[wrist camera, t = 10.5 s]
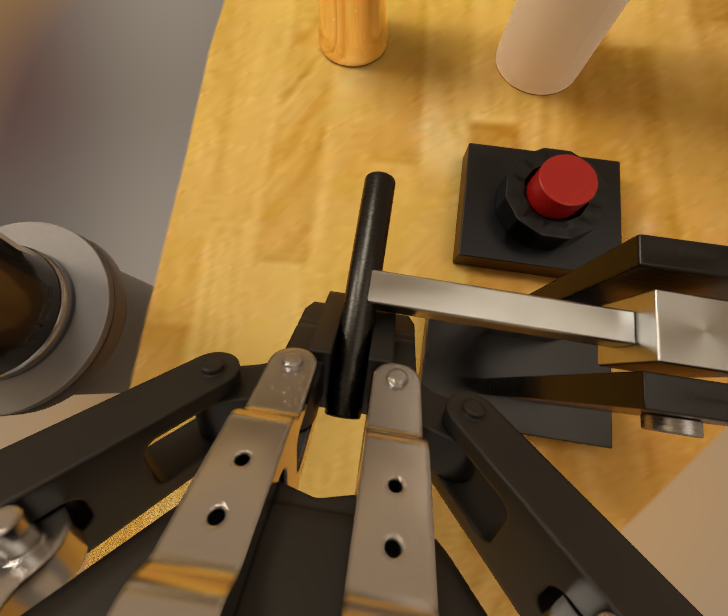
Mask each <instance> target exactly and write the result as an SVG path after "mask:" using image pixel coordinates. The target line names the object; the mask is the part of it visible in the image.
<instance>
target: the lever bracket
mask: <svg viewBox="0 0 728 616" xmlns="http://www.w3.org/2000/svg"><path fill="white" fill-rule="evenodd" d="M654 289H659V290H665V291H672V292H678V293H684V294H690V295H697V296H703V297H709V298H715V299H722V300H728V246H723V245H716V244H709V243H701V242H694V241H686V240H679V239H671V238H664V237H656V236H649V235H637V236H635V237H633V238H631V239H629V240H628V241H626V242H624V243H622V244H620V245H619V246H617V247H615V248H613V249H611V250H609V251H608V252H606V253H604V254H602V255H600V256H598V257H597V258H595V259H593V260H591V261H589V262H587V263H586V264H584V265H582V266H580V267H578V268H577V269H575V270H573V271H571V272H569V273H567V274H566V275H564V276H562V277H560V278H558V279H556V280H555V281H553V282H551V283H549V284H547V285H545V286H544V287H542V288H540V289H538V290H536V291H535V292H533V293H531V294H529V295H535V296H541V297H547V298H554V299H560V300H566V301H572V302H579V303H585V304H591V305H597V306H601V305H604V304H607V303H611V302H614V301H617V300H621V299H624V298H627V297H631V296H634V295H637V294H640V293H644V292H647V291H650V290H654ZM419 378H420V381H421V383H422V384H423V385H424V386H425V387H426V388H428V389H429V390H431V391H432V392H434V393H436V394H439V395H441V396H443V397H446V398H448V399H449V397H450V396H451V395H453V394H455V393H457V392H470V393H474V394H477V395H479V396H481V397H483V398H485V399H486V400H488V401H489V402H490V403H491V404H492V405H493V406H494V407H495V408H496V409H497V410H498V411H499V412H500V413H501V414H502V415H503V416H504V417H505V418H506V419H507V420H508V421H509V422H510V423H511V424H512V425H513V426H514V427H515V428H516V429H517V430H518V431H519V432H520V433H521V434H525V435H531V436H537V437H544V438H550V439H556V440H562V441H568V442H574V443H581V444H587V445H593V446H599V447H605V448H612V417H611V412H613V413H622V414H630V415H639V416H640V417H641V428H642V429H646V430H653V431H659V432H665V433H671V434H677V435H683V436H690V437H696V438H703V437H704V433H703V423H706V424H715V425H723V426H728V384H727V383H720V382H713V381H707V380H700V379H694V378H687V377H680V376H674V375H667V374H661V373H654V372H647V371H635V372H612V373H611V368H610V367H604V366H599V365H598V346H597V345H591V344H584V343H578V342H572V341H566V340H559V339H553V338H547V337H540V336H534V335H528V334H522V333H515V332H509V331H503V330H496V329H490V328H484V327H478V326H471V325H465V324H459V323H453V322H446V321H440V320H434V319H427V318H425V327H424V336H423V344H422V353H421V362H420V371H419Z"/></svg>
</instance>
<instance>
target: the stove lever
mask: <svg viewBox="0 0 728 616" xmlns="http://www.w3.org/2000/svg"><path fill="white" fill-rule="evenodd" d="M394 190H395V180H394V178H393V177H392V176H391V175H389V174H387V173H385V172H372V173H369V174H368V175H367V176H366V178H365V182H364V188H363V194H362V199H361V205H360V211H359V217H358V222H357V228H356V234H355V240H354V246H353V251H352V257H351V263H350V269H349V274H348V280H347V286H346V292H345V298H344V303H343V309H342V315H341V321H340V327H339V333H338V339H337V344H336V350H335V356H334V362H333V367H332V373H331V379H330V385H329V390H328V396H327V401H326V407H325V414H327V415H330V416H333V417H338V418H345V419H360V417H361V411H362V404H363V392H364V386H365V379H366V373H367V366H368V359H369V353H370V346H371V340H372V333H373V326H374V323H375V317H376V310H377V311H383V312H390V313H396V314H402V315H409V316H415V317H421V318H427V319H434V320H440V321H446V322H453V323H459V324H465V325H471V326H478V327H484V328H490V329H496V330H503V331H509V332H515V333H522V334H528V335H534V336H540V337H547V338H553V339H559V340H566V341H572V342H578V343H584V344H591V345H597V346H598V365H599V366H604V367H610V368H616V369H623V370H629V371H647V372H654V373H661V374H667V375H674V376H680V377H687V378H698V377H728V300H722V299H715V298H709V297H703V296H697V295H690V294H684V293H678V292H672V291H665V290H659V289H654V290H650V291H647V292H644V293H640V294H637V295H634V296H631V297H627V298H624V299H621V300H617V301H614V302H611V303H607V304H604V305H601V306H597V305H591V304H585V303H579V302H572V301H566V300H560V299H554V298H547V297H541V296H535V295H529V294H522V293H516V292H510V291H503V290H497V289H491V288H485V287H478V286H472V285H466V284H460V283H453V282H447V281H441V280H435V279H428V278H422V277H416V276H409V275H403V274H397V273H391V272H384V271H382V270H383V263H384V256H385V250H386V243H387V236H388V230H389V223H390V216H391V210H392V203H393V196H394Z"/></svg>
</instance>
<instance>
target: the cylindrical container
mask: <svg viewBox="0 0 728 616" xmlns="http://www.w3.org/2000/svg"><path fill="white" fill-rule="evenodd" d="M628 2H629V0H516V2H515V4H514V7H513V9H512V12H511V14H510V17H509V20H508V22H507V25H506V27H505V30H504V32H503V35H502V38H501V40H500V43H499V45H498V48H497V51H496V65H497V68H498V70H499V72H500V74H501V75H502V77H503V78H504V79H505V80H506V81H507V82H508V83H509V84H510V85H512V86H513V87H515V88H517V89H519V90H521V91H524V92H526V93H531V94H535V95H547V94H553V93H557V92H560V91H562V90H564V89H566V88H567V87H568V86H570V85H571V84H572V83H573V82H574V80H575V79H576V78H577V76H578V75H579V73H580V72H581V70H582V69H583V67H584V66H585V64H586V63H587V62H588V60H589V59H590V57H591V56H592V54H593V53H594V51H595V50H596V48H597V47H598V45H599V44H600V43H601V41H602V40H603V38H604V37H605V35H606V34H607V32H608V31H609V29H610V28H611V26H612V25H613V24H614V22H615V21H616V19H617V18H618V16H619V15H620V13H621V12H622V10H623V9H624V7H625V6H626V5H627V3H628Z"/></svg>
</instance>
